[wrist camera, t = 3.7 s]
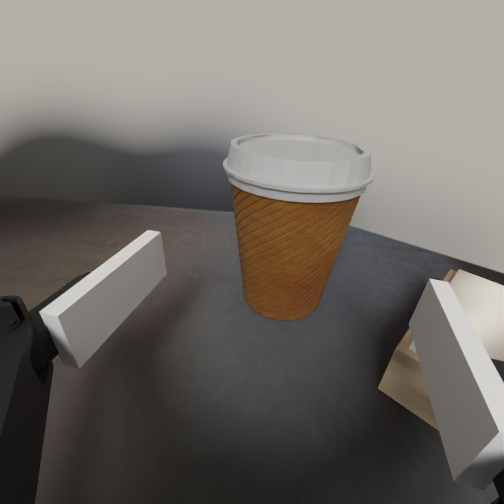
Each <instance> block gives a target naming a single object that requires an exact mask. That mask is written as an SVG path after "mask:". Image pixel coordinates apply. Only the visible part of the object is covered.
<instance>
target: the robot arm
mask: <svg viewBox="0 0 504 504" xmlns="http://www.w3.org/2000/svg"><path fill="white" fill-rule="evenodd" d="M166 274H167V273H166V266H165V259H164V251H163V244H162V237H161V232H157V231H151V230H147V231H146V232H145V233H143V234H142V235H141V236H139V237H138V238H137V239H135V240H134V241H133V242H131V243H130V244H129V245H127V246H126V247H125V248H123V249H122V250H121V251H119V252H118V253H117V254H115V255H114V256H113V257H111V258H110V259H109V260H107V261H106V262H105V263H103V264H102V265H101V266H99V267H98V268H97V269H95V270H94V271H93V272H88V273H85V274H83V275H81V276H78V277H76V278H75V279H73V280H72V281H71V282H69V283H68V284H67V285H66V286H64V287H62V288H61V289H60V290H58V292H55V293H54V294H53V295H51V296H50V297H49V298H47V299H46V300H44V301H43V302H42V303H40V304H39V305H38V306H36V307H35V308H33V309H32V310H31V311H29V312H28V311H27V309H26V307H25V304H24V302H23V300H22V299H21V298H20V297H18V296H3V297H0V504H35V497H36V490H37V483H38V476H39V468H40V461H41V454H42V447H43V440H44V432H45V425H46V418H47V411H48V404H49V396H50V389H51V382H52V375H53V362H52V360H53V359H54V358H55V357H56V356H57V355H58V354H59V356H60V358H61V361H62V363H63V364H65V365H68V366H71V367H75V368H78V369H80V368H81V367H82V366H83V365H84V363H85V362H86V361H87V360H88V359H89V358H90V357H91V356H92V355H93V354H94V353H95V352H96V350H97V349H98V348H99V347H100V346H101V345H102V344H103V343H104V342H105V341H106V340H107V339H108V337H109V336H110V335H111V334H112V333H113V332H114V331H115V330H116V329H117V328H118V327H119V325H120V324H121V323H122V322H123V321H124V320H125V319H126V318H127V317H128V316H129V315H130V314H131V312H132V311H133V310H134V309H135V308H136V307H137V306H138V305H139V304H140V303H141V302H142V301H143V299H144V298H145V297H146V296H147V295H148V294H149V293H150V292H151V291H152V290H153V289H154V287H155V286H156V285H157V284H158V283H159V282H160V281H161V280H162V279H163V278H164V277H165V276H166ZM409 327H410V331H411V334H412V338H413V341H414V345H415V348H416V352H417V355H418V359H419V362H420V366H421V369H422V373H423V376H424V380H425V383H426V387H427V390H428V394H429V397H430V401H431V404H432V408H433V411H434V415H435V418H436V422H437V425H438V429H439V432H440V436H441V439H442V443H443V446H444V450H445V453H446V457H447V460H448V464H449V467H450V471H451V474H452V478H453V481H454V482H458V483H461V484H464V485H468V486H471V487H474V488H478V489H481V490H483V489H484V488H485V487H487V486H488V485H489V484H490V483H491V482H492V481H493V482H494V485H495V487H496V490H497V492H498V495H499V497H498V498H497V499H496V500H495V501H494V502H492V503H491V504H504V361H501V360H496V359H491V358H490V357H489V355H488V353H487V351H486V350H485V348H484V346H483V344H482V342H481V341H480V339H479V337H478V335H477V333H476V331H475V330H474V328H473V326H472V324H471V322H470V321H469V319H468V317H467V315H466V313H465V311H464V310H463V308H462V306H461V304H460V302H459V301H458V299H457V297H456V295H455V293H454V291H453V290H452V288H451V286H450V284H449V282H445V281H440V280H434V279H429V280H428V282H427V284H426V287H425V289H424V291H423V293H422V296H421V298H420V300H419V302H418V304H417V307H416V309H415V311H414V313H413V315H412V318H411V320H410V322H409Z"/></svg>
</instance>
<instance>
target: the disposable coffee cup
mask: <svg viewBox="0 0 504 504" xmlns="http://www.w3.org/2000/svg"><path fill="white" fill-rule="evenodd" d="M223 167H224V170H225V171H226V173H227V177H228V180H229V181H230V182H231V189H232V196H233V205H234V214H235V222H236V231H237V239H238V247H239V256H240V264H241V273H242V281H243V289H244V298H245V300H246V302H247V304H248V305H249V306H250V307H251V308H252V309H253V310H254V311H256V312H257V313H259V314H261V315H263V316H265V317H268V318H272V319H276V320H296V319H301V318H304V317H306V316H308V315H309V314H311V313H312V312H313V311H314V310H315V309H316V307H317V306H318V303H319V300H320V298H321V295H322V293H323V290H324V287H325V285H326V282H327V280H328V277H329V275H330V272H331V269H332V267H333V264H334V262H335V259H336V257H337V254H338V252H339V249H340V247H341V244H342V241H343V239H344V236H345V234H346V231H347V229H348V226H349V223H350V221H351V218H352V216H353V213H354V210H355V208H356V205H357V203H358V200H359V198H360V195H361V194H362V193H364V191H365V190H366V188H367V186H368V185H369V184H370V183H371V182H372V181H373V179H374V173H373V171H372V170H371V151H370V150H368V149H367V148H365V147H364V146H361V145H358V144H355V143H351V142H347V141H343V140H339V139H333V138H326V137H319V136H309V135H298V134H256V135H247V136H242V137H238V138H236V139H234V140H232V141H231V144H230V149H229V154H228V158H226V159H225V160H224V162H223Z"/></svg>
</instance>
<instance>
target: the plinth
mask: <svg viewBox="0 0 504 504" xmlns="http://www.w3.org/2000/svg"><path fill="white" fill-rule="evenodd" d="M443 281H445V282H449V284H450V286H451V288H452V290H453V291H454V293H455V295H456V297H457V299H458V301H459V302H460V304H461V306H462V308H463V310H464V311H465V313H466V315H467V317H468V319H469V321H470V322H471V324H472V326H473V328H474V330H475V331H476V333H477V335H478V337H479V339H480V341H481V342H482V344H483V346H484V348H485V350H486V351H487V353H488V355H489V357H490V358H491V359H496V360H501V361H504V286H503V285H500V284H497V283H495V282H492V281H489V280H487V279H484V278H481V277H479V276H476V275H473V274H470V273H468V272H465V271H462V270H460V269H459V270H458V272H456V271H454V270H450V271H449V272H448V274H447V275H446V277H445V278H444V280H443ZM378 389H379V390H381V391H382V392H383V393H385V394H386V395H388V396H389V397H391V398H392V399H394V400H395V401H396V402H398V403H399V404H401V405H402V406H404V407H405V408H407V409H408V410H409V411H411V412H412V413H414V414H415V415H417V416H418V417H420V418H421V419H422V420H424V421H425V422H427V423H428V424H430V425H431V426H433V427H434V428H435V429H437V430H438V431H439V429H438V425H437V422H436V418H435V415H434V411H433V408H432V404H431V401H430V397H429V394H428V390H427V387H426V383H425V380H424V376H423V373H422V369H421V366H420V362H419V359H418V355H417V352H416V348H415V345H414V341H413V338H412V334H411V331H410V328H409V330H408V331H407V333H406V334H405V336H404V337H403V338H402V340H401V341H400V343H399V344H398V346H397V347H396V349H395V351H394V353H393V355H392V358H391V360H390V362H389V364H388V367H387V369H386V371H385V373H384V376H383V378H382V380H381V382H380V384H379V387H378Z"/></svg>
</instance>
